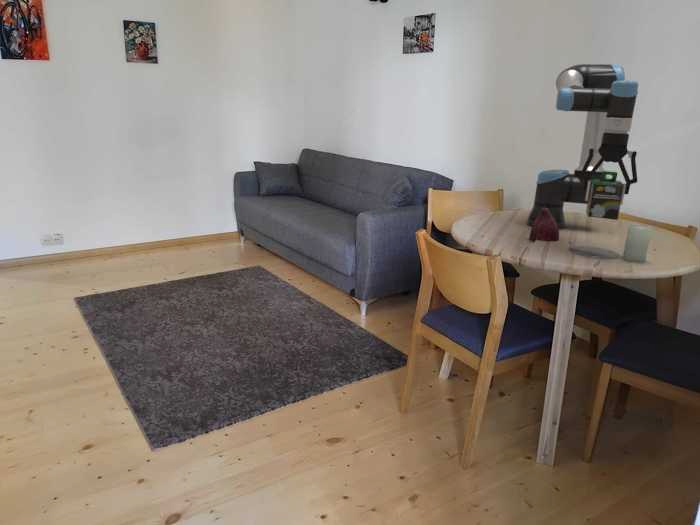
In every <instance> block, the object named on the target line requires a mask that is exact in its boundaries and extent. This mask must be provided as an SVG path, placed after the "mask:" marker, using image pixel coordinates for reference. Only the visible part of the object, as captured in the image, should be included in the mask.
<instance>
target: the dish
mask: <svg viewBox="0 0 700 525" xmlns="http://www.w3.org/2000/svg"><path fill="white" fill-rule="evenodd" d="M568 251H570V253H573V254H574V255H577V256H579V257H580V256H581V257H586V258H590V259H596V260H597V259H598V260H616V259H617V260H618V259H620V258H621V255H620V254H619V253H618V252H616V251H613V250H610V249H608V248H602V247H596V246H589V245H588V246H587V245H579V246H578V245H576V246H570V247H569V248H568Z"/></svg>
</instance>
